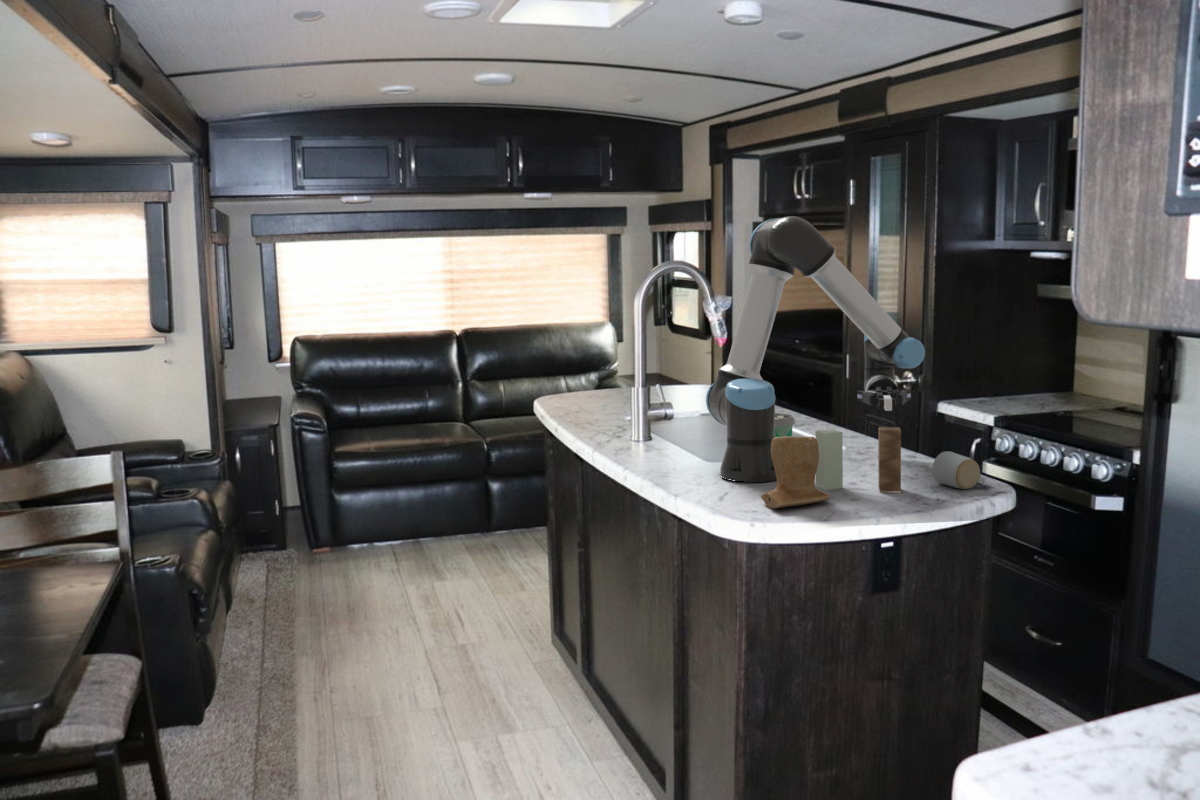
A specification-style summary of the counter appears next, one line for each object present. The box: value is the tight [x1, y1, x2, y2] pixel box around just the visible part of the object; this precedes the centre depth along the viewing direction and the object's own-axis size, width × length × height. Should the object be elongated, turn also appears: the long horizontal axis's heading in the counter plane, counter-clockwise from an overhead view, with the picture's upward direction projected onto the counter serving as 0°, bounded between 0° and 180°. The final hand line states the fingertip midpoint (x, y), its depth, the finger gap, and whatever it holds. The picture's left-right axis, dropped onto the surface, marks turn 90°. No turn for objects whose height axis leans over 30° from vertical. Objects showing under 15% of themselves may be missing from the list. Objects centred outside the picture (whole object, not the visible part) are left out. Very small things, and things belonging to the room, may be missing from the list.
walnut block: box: [877, 426, 902, 494], centre depth 219 cm, size 4×4×14 cm
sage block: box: [815, 428, 844, 491], centre depth 224 cm, size 4×4×13 cm
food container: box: [775, 412, 796, 437], centre depth 269 cm, size 12×6×10 cm, turn 168°
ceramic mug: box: [931, 450, 986, 490], centre depth 221 cm, size 11×8×8 cm
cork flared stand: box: [760, 435, 832, 509], centre depth 210 cm, size 15×12×15 cm
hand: (888, 404), depth 224 cm, fingers closed
